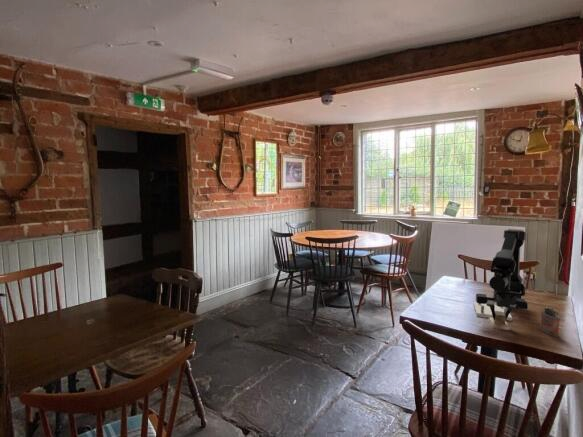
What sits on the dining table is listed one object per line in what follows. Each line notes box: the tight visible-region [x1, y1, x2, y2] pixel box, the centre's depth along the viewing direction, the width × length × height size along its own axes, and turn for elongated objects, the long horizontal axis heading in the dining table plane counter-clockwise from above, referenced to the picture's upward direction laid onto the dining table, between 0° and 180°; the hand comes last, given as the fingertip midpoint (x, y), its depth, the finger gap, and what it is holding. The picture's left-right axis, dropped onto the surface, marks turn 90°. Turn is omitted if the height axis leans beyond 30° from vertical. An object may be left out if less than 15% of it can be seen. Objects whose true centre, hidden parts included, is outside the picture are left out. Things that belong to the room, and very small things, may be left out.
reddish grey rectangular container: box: [539, 306, 561, 337], centre depth 145 cm, size 8×3×10 cm, turn 5°
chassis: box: [473, 301, 513, 322], centre depth 167 cm, size 14×16×4 cm
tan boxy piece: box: [488, 311, 510, 331], centre depth 152 cm, size 6×9×5 cm, turn 160°
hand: (499, 320), depth 152 cm, fingers closed on tan boxy piece, 4 cm apart
